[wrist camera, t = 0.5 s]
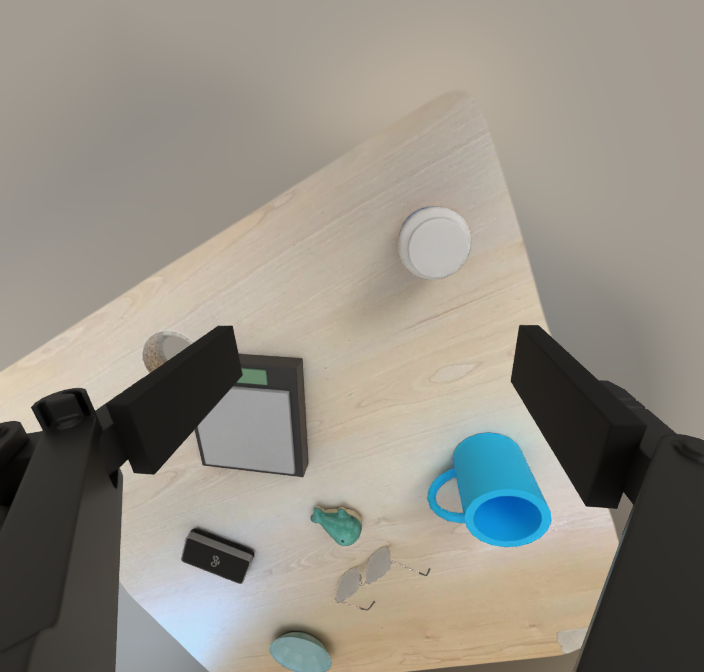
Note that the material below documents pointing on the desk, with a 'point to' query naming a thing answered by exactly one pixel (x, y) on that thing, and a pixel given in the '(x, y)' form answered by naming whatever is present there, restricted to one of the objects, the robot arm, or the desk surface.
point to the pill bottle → (434, 242)
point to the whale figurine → (339, 524)
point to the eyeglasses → (375, 570)
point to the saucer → (300, 653)
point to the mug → (494, 492)
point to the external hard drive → (217, 555)
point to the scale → (259, 420)
